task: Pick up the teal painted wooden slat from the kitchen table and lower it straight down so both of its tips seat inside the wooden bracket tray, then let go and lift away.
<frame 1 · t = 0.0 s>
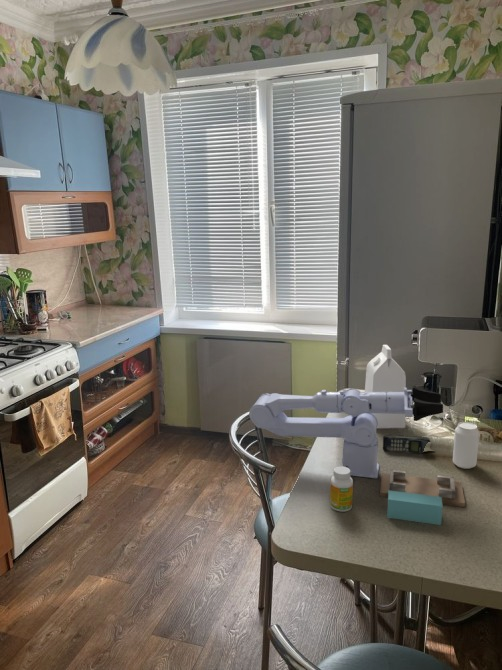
hand: (442, 403, 133), 22 cm above the table, tool horizontal, fingers open, 7 cm apart
milk: (383, 421, 176), on the table
mobile phone: (408, 452, 154), on the table
wooden bracket tray: (421, 490, 133), on the table
slat: (413, 516, 122), on the table
supplement bottle: (341, 506, 127), on the table
beverage can: (464, 465, 145), on the table
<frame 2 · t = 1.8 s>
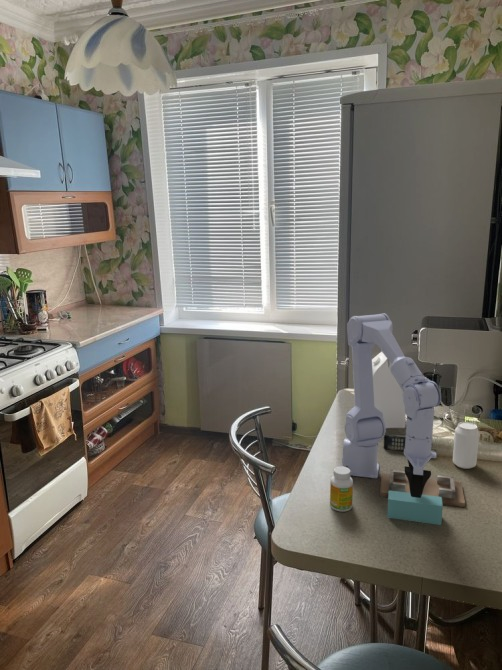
hand: (415, 487, 120), 7 cm above the table, tool pointing down, fingers open, 7 cm apart
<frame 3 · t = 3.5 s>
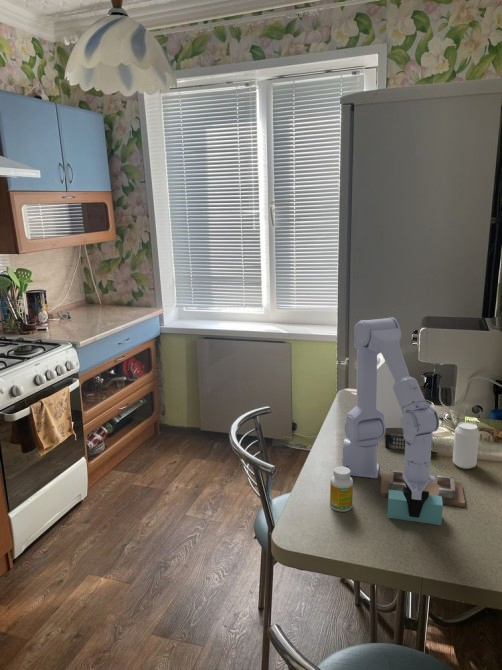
hand: (413, 510, 122), 1 cm above the table, tool pointing down, fingers closed on slat, 4 cm apart
slat: (413, 516, 122), on the table, touching gripper
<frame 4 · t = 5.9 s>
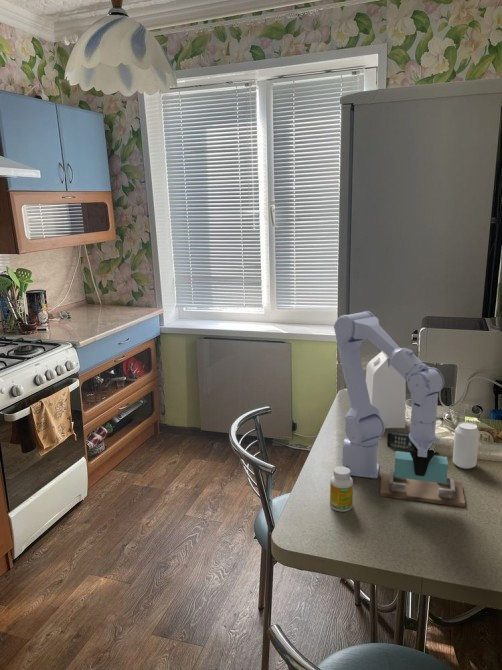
hand: (419, 470, 126), 8 cm above the table, tool pointing down, fingers closed on slat, 4 cm apart
slat: (419, 476, 127), point 7 cm above the table, touching gripper
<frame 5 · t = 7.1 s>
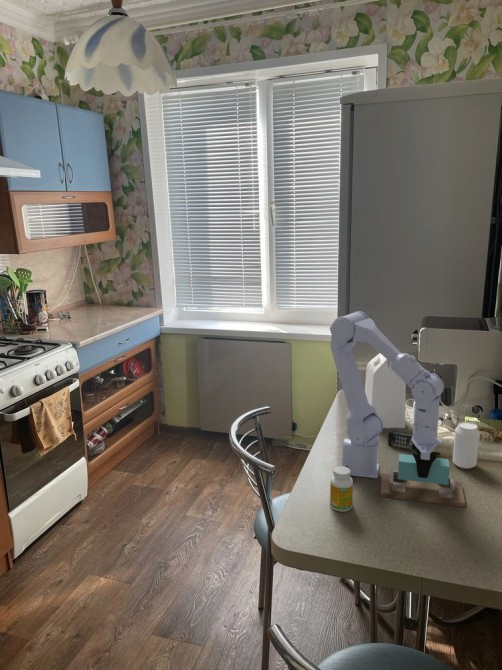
hand: (422, 472, 132), 5 cm above the table, tool pointing down, fingers closed on slat, 4 cm apart
slat: (422, 478, 132), point 4 cm above the table, touching gripper
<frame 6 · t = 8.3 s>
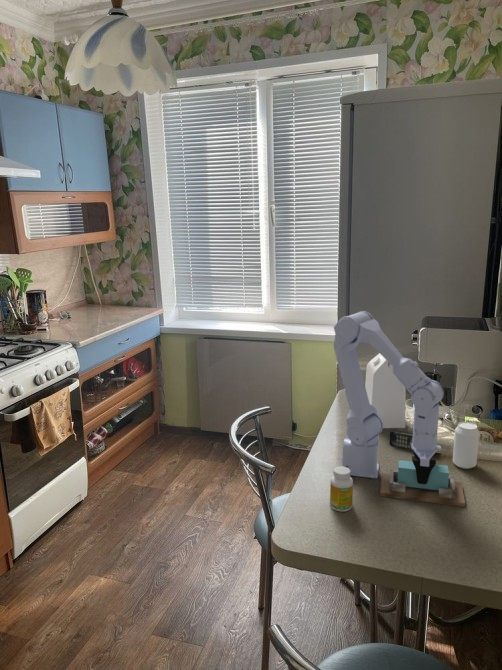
hand: (421, 478, 132), 3 cm above the table, tool pointing down, fingers closed on slat, 4 cm apart
slat: (421, 484, 132), point 2 cm above the table, touching gripper
when the fingers open (3 cm above the table, at t = 8.3 s): slat stays where it is, resting on wooden bracket tray.
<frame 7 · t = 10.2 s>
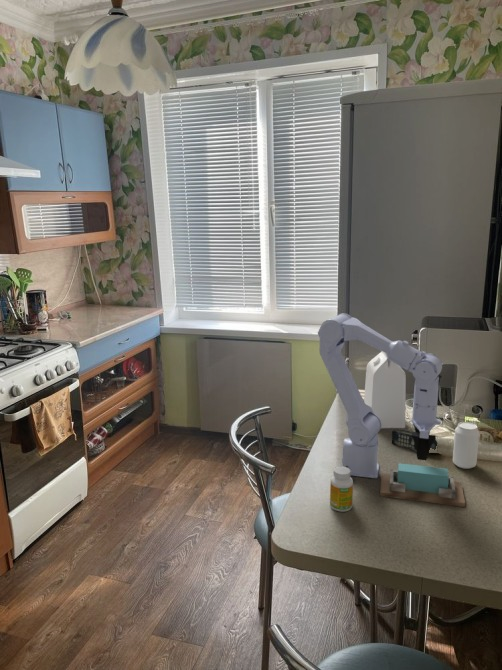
hand: (421, 452, 133), 9 cm above the table, tool pointing down, fingers open, 7 cm apart
slat: (421, 487, 132), point 1 cm above the table, touching wooden bracket tray
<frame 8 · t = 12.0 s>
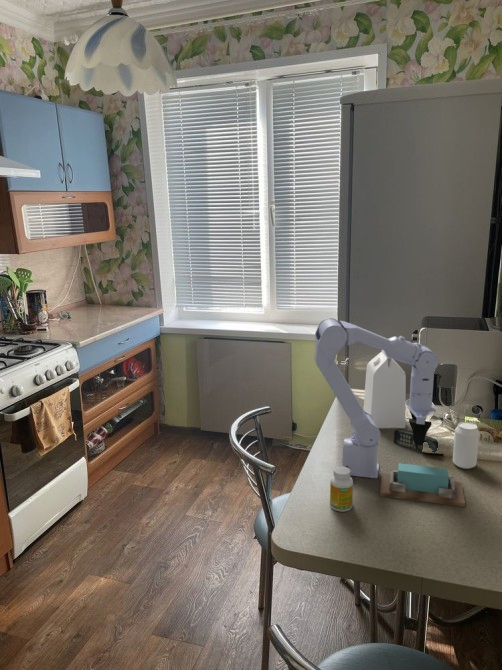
hand: (418, 438, 141), 9 cm above the table, tool pointing down, fingers open, 7 cm apart
at the end: slat 0.1 cm off-centre on the wooden bracket tray, point 1.0 cm above the wooden bracket tray's base; slat tilted 0°; the gripper is holding nothing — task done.
